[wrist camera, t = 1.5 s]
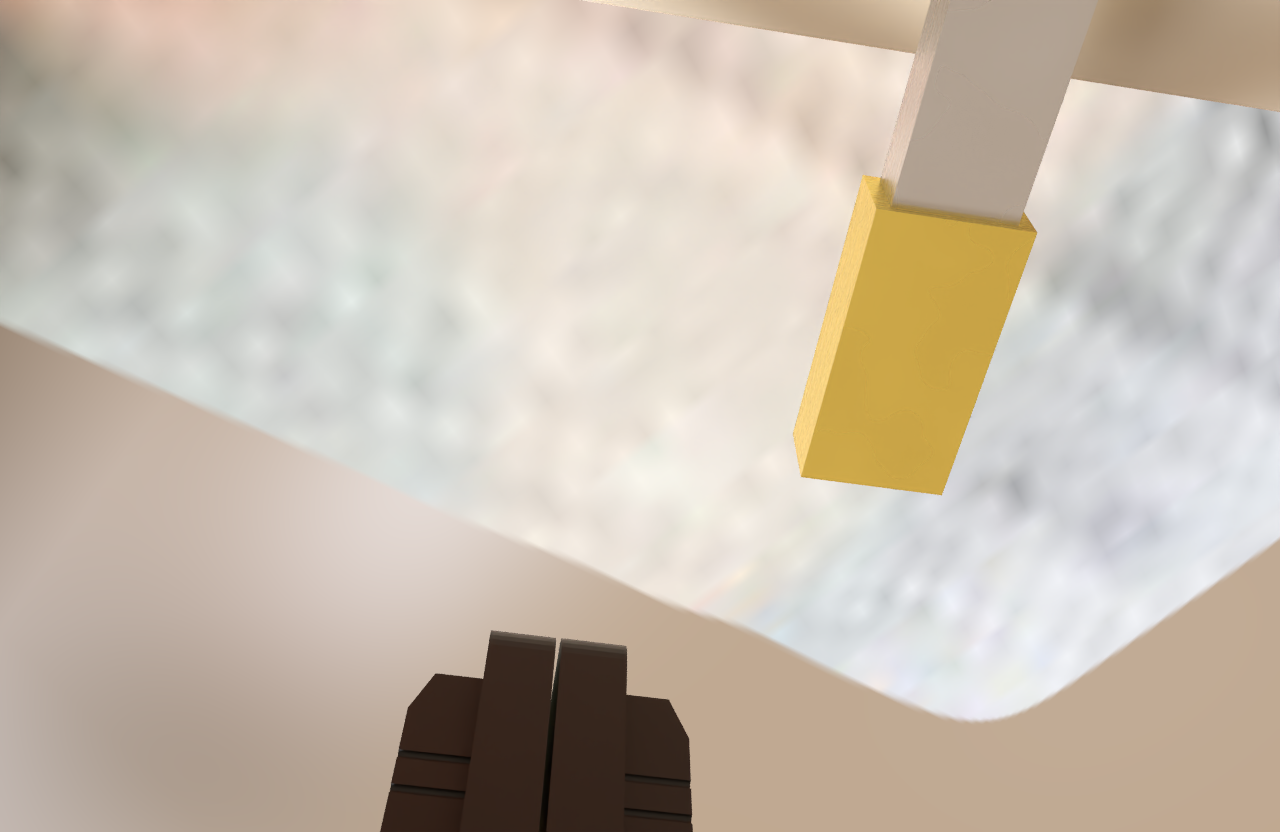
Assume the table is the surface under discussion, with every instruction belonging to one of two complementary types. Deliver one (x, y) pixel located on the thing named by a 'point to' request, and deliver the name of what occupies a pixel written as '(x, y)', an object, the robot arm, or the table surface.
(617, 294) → the table surface
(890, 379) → the valve lever
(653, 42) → the table surface
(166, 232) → the table surface
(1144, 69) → the pipe board
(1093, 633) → the table surface
